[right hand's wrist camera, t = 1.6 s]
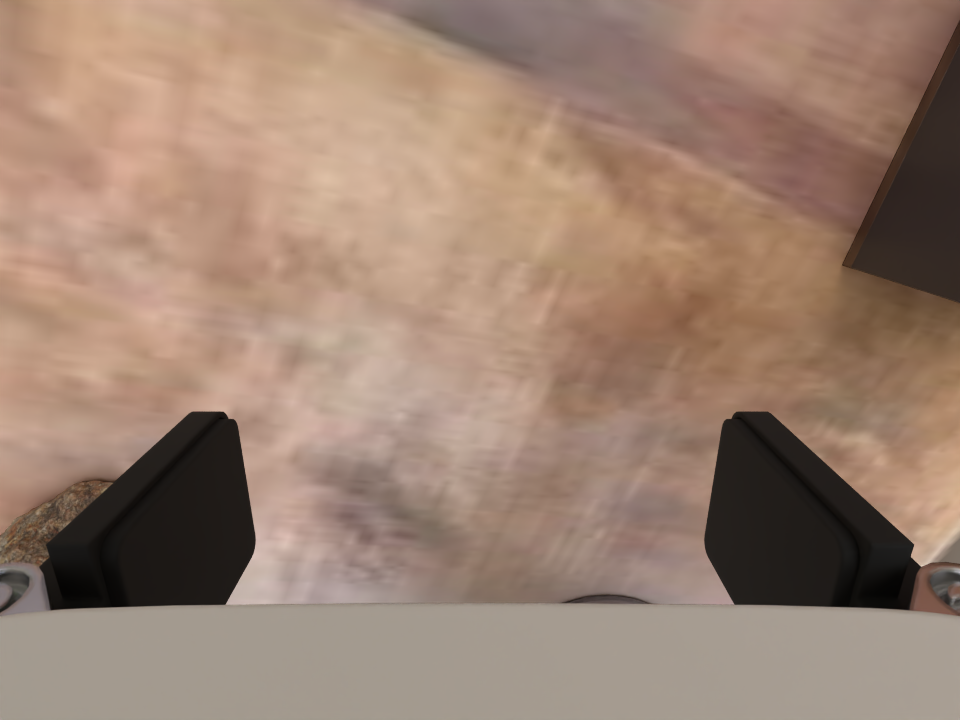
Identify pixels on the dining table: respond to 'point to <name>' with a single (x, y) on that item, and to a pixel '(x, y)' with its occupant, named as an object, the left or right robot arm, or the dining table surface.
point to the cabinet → (920, 196)
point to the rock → (46, 523)
